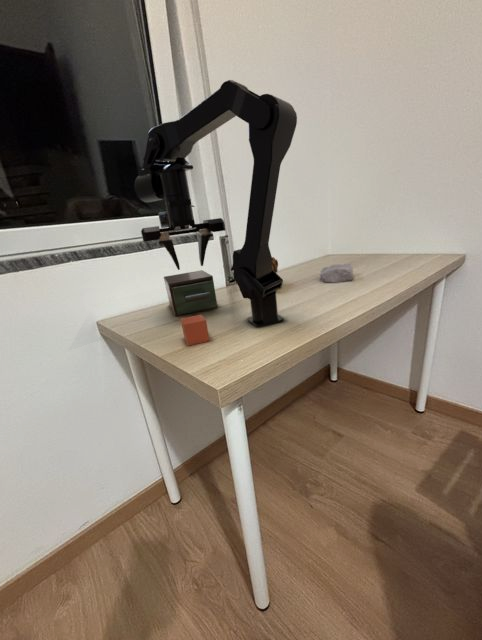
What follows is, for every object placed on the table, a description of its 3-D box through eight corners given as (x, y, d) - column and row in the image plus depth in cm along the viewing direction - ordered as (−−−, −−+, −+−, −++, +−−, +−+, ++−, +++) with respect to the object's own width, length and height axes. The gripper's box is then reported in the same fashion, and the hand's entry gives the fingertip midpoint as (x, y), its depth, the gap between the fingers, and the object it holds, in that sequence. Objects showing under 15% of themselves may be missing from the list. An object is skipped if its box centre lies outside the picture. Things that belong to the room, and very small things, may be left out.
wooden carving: (282, 292, 91) (280, 257, 87) (267, 293, 91) (264, 259, 87) (277, 281, 106) (275, 251, 102) (264, 283, 106) (261, 253, 102)
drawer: (221, 310, 77) (217, 283, 75) (180, 318, 75) (174, 291, 72) (207, 297, 92) (203, 274, 90) (172, 304, 90) (167, 281, 87)
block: (209, 340, 61) (205, 319, 59) (187, 345, 60) (183, 324, 58) (205, 334, 65) (201, 314, 63) (184, 338, 64) (180, 318, 62)
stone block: (322, 288, 96) (355, 279, 93) (319, 273, 94) (352, 264, 91) (322, 282, 106) (351, 273, 103) (318, 268, 105) (349, 259, 102)
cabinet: (217, 307, 84) (212, 275, 80) (175, 316, 81) (168, 283, 77) (207, 298, 96) (202, 270, 92) (169, 305, 93) (163, 276, 89)
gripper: (209, 195, 78) (219, 259, 84) (133, 204, 73) (149, 270, 79) (220, 190, 68) (230, 262, 74) (133, 199, 63) (152, 276, 69)
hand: (190, 267), depth 74 cm, fingers open, 5 cm apart
